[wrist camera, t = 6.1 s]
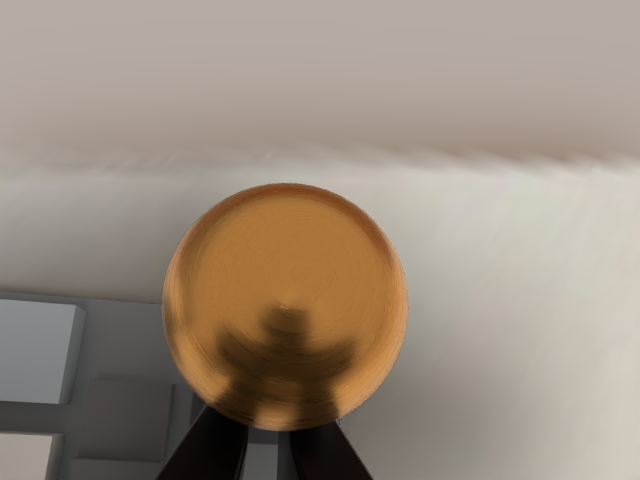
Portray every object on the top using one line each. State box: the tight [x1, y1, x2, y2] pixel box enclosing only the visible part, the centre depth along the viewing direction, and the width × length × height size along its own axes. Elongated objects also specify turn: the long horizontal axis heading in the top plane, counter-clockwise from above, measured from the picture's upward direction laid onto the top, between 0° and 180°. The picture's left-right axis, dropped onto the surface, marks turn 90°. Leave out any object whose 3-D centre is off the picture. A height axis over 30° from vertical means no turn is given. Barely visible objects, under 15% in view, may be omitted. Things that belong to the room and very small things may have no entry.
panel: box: [0, 291, 340, 480], centre depth 16 cm, size 7×18×3 cm, turn 87°
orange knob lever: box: [161, 183, 409, 431], centre depth 11 cm, size 3×3×12 cm
